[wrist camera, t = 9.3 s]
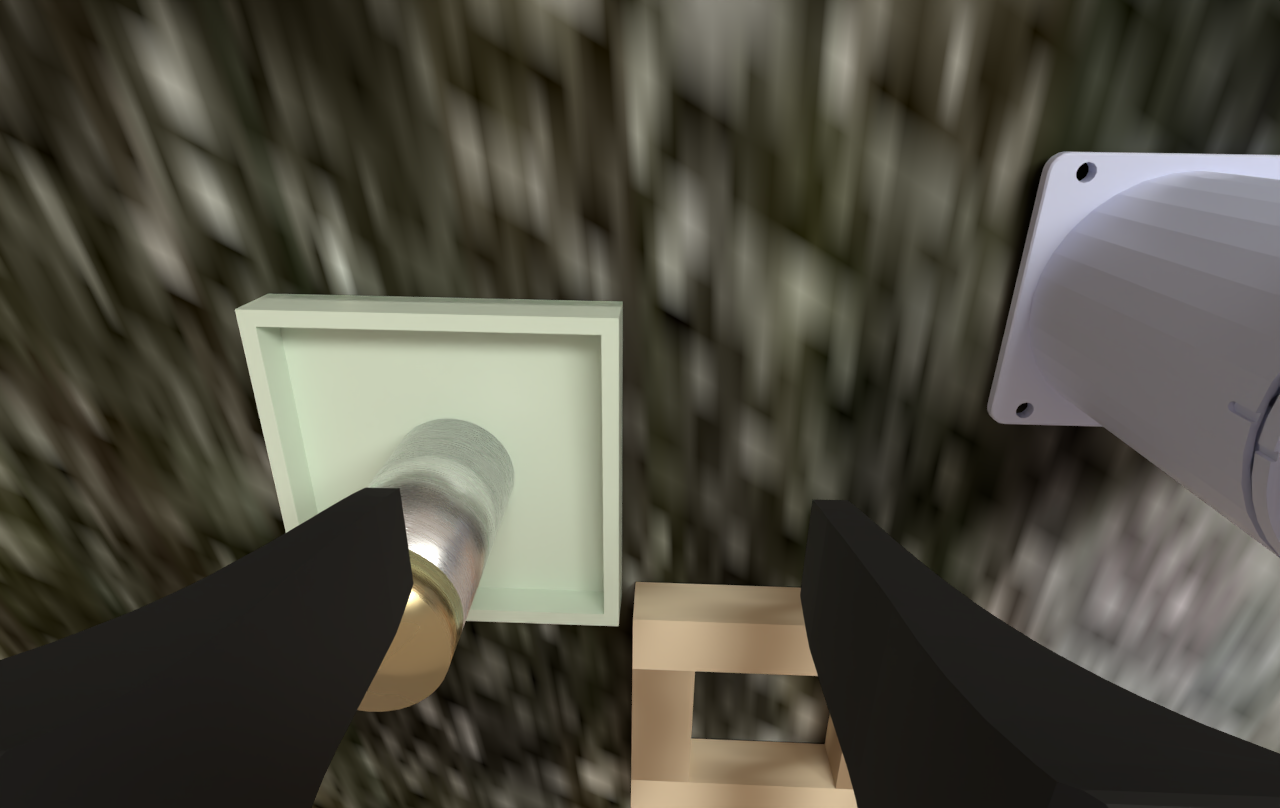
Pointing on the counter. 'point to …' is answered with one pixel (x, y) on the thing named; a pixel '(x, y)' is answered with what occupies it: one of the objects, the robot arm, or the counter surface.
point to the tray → (466, 390)
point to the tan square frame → (664, 689)
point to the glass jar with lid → (439, 548)
